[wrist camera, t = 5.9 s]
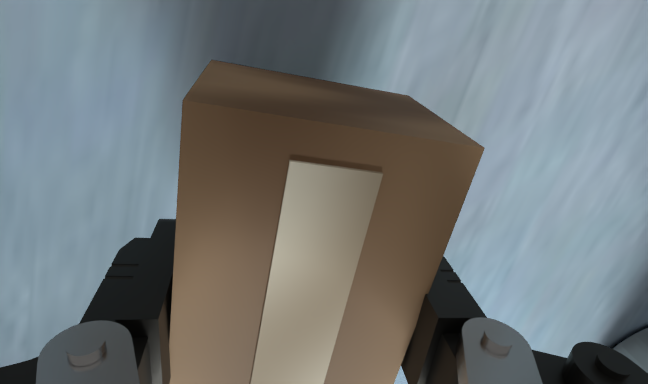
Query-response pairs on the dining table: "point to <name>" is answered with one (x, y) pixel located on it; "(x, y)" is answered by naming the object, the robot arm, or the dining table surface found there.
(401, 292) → the card box
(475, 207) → the dining table surface
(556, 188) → the dining table surface
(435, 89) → the dining table surface
